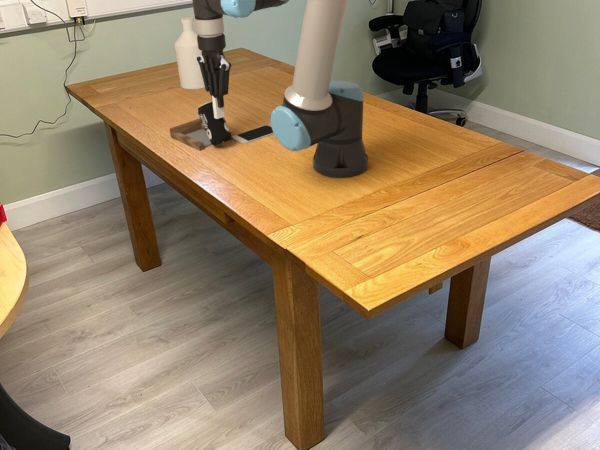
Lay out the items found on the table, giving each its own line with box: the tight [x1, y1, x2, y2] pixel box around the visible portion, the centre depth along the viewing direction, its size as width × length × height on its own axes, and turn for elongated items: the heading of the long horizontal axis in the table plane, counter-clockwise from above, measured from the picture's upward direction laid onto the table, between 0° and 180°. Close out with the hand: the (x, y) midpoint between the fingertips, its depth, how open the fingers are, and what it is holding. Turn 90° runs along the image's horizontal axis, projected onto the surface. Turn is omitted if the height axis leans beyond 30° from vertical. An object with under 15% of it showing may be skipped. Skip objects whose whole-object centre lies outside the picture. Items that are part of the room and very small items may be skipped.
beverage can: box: [197, 100, 233, 147], centre depth 173 cm, size 7×7×12 cm
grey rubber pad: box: [186, 129, 212, 149], centre depth 181 cm, size 12×8×1 cm
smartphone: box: [231, 123, 275, 145], centre depth 183 cm, size 7×15×1 cm, turn 130°
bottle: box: [173, 16, 205, 90], centre depth 223 cm, size 12×12×25 cm
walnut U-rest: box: [169, 118, 233, 151], centre depth 181 cm, size 16×12×3 cm
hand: (219, 117), depth 170 cm, fingers closed
